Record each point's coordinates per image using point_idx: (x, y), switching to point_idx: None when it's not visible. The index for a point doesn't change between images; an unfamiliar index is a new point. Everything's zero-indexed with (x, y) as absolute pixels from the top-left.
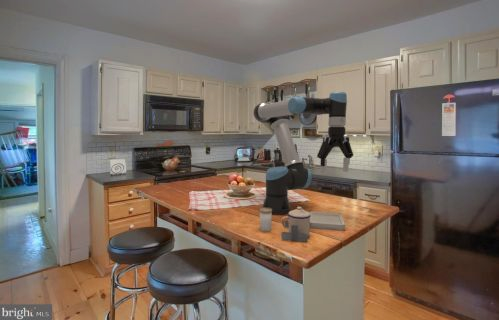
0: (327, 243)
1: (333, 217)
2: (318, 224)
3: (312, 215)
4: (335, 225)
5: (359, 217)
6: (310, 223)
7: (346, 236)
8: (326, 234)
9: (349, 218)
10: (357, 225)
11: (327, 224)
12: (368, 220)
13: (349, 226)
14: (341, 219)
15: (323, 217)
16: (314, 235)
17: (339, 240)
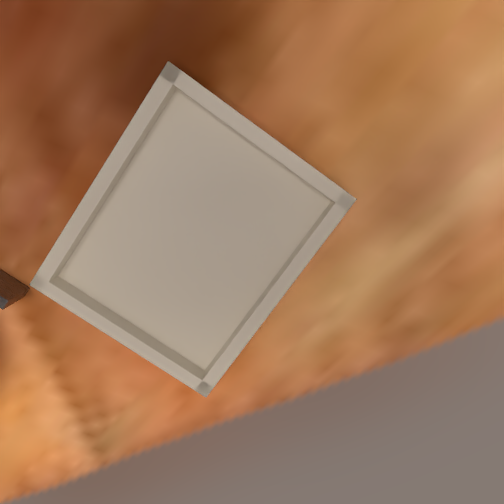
0: (25, 469)
1: (285, 201)
2: (81, 312)
3: (175, 102)
4: (163, 366)
5: (480, 230)
6: (38, 287)
7: (163, 440)
8: (85, 385)
9: (401, 221)
10: (340, 342)
11: (124, 343)
12: (478, 299)
13: (284, 338)
14: (259, 312)
15: (221, 174)
16: (18, 374)
17: (99, 464)
